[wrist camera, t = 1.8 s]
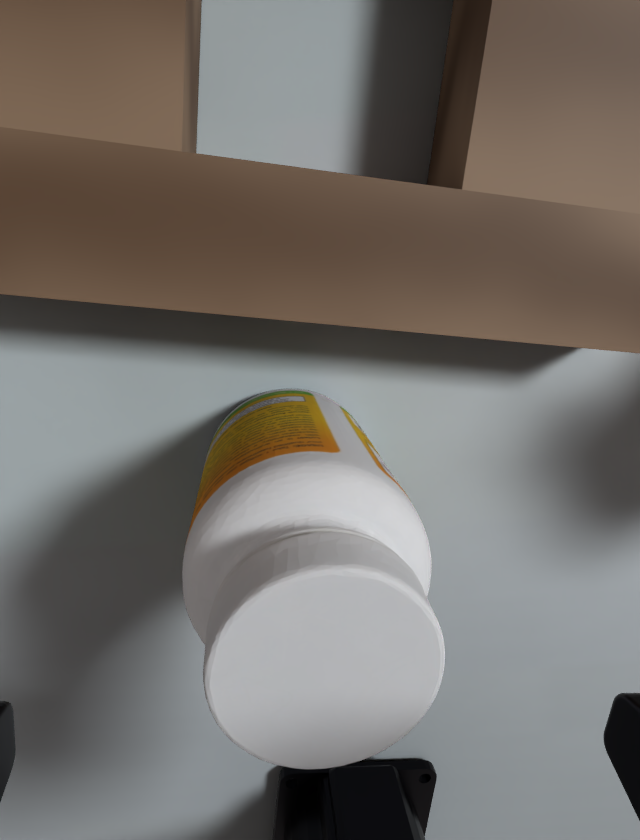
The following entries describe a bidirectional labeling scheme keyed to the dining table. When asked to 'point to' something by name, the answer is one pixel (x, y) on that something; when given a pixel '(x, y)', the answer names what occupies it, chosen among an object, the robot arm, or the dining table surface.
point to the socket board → (331, 181)
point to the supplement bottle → (309, 587)
